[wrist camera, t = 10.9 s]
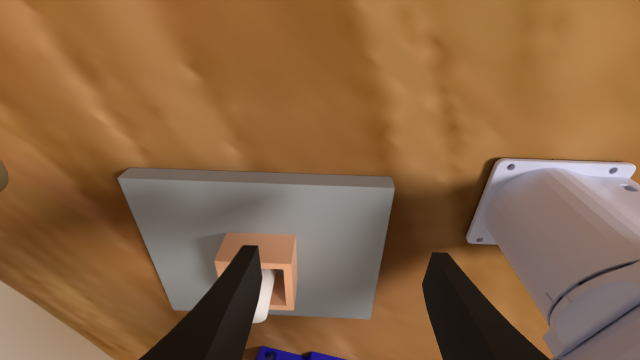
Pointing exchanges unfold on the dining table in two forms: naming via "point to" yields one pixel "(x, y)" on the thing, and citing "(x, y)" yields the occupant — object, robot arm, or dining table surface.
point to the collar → (267, 262)
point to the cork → (3, 176)
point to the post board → (265, 232)
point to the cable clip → (289, 355)
